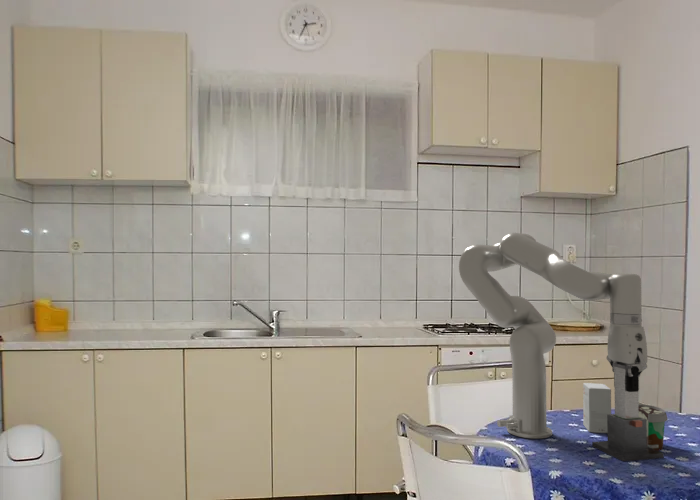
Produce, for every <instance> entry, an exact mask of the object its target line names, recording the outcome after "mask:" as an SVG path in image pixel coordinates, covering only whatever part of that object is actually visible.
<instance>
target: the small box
mask: <svg viewBox="0 0 700 500" xmlns="http://www.w3.org/2000/svg"><path fill="white" fill-rule="evenodd" d="M582 384H583V385H582V388H583V389H582V391H583V392H582V394H583V395H582V399H583V402H582V403H583V405H582V406H583V411H582V412H583V413H582V415H583V417H582V419H583V421H582V424H583V426H584V427H585V429H586V430H587V431H588V432H589V433H597V434H599V433H600V434H608V433H607V414H612V389H611V388H610V387H609V386H607V385H606V384H605V383H596V382H594V383H593V382H592V383H590V382H583V383H582Z"/></svg>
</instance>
